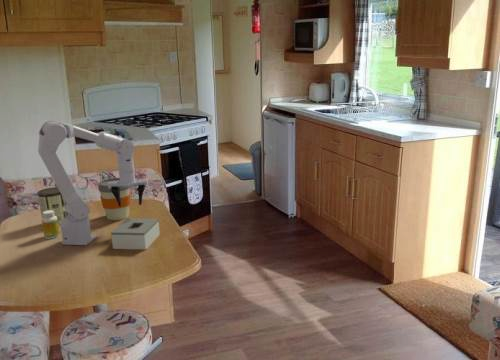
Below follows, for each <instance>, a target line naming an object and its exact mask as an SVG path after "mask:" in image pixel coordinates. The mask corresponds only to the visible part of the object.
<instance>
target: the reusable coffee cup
mask: <svg viewBox="0 0 500 360" xmlns="http://www.w3.org/2000/svg"><path fill="white" fill-rule="evenodd" d="M116 181H120V178H119V177H115V178H106V179H103V180H101V181H99V182H98V191H99V193H100V197H99V198H100V201H101V204H102V205H101V206H102V208H103V209H104V212H105V216H106V219H107V220H109V221H121V220H123V219H124V220H125V219H128V217H129V216H130V205H131V192H130V190H131V189H130V188H131V187H120V198H121V206H119V205H118V202H117V200H116V198H115V196H114V195H113V193H112V192H111V188H108V183H109V182H116Z"/></svg>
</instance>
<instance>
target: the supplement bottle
mask: <svg viewBox="0 0 500 360" xmlns="http://www.w3.org/2000/svg"><path fill="white" fill-rule="evenodd" d="M54 215H55V214H54V211H53V210H48V211H44V212H43V217H44V218H42V217H41V224H42V231H43V238H44V239H48V240H49V239H51V240H52V239H56V238H58V237H59V236H60V235H61V233H60V227H59V226H58V220H57V217H56V216H54Z"/></svg>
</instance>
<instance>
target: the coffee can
mask: <svg viewBox="0 0 500 360" xmlns="http://www.w3.org/2000/svg"><path fill="white" fill-rule="evenodd" d="M36 193H37V197H38V203H39V209H40V210H39V211H40V214H41V219H42V218H44V217H43V212H44V211H48V210H53V211H54V214H55V215H54V216H56V217H57V220H58V226H59V228H61V222H62V220H63V219H64V218H67V217H68V214H69V213H67V212H66V210H65V207H64V201H63V199H62V195H61V193H60V191H59V189H58V187H57V186H55V187H48V188H43V189H40V190H38V191H37V192H36Z"/></svg>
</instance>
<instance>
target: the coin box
mask: <svg viewBox="0 0 500 360" xmlns="http://www.w3.org/2000/svg"><path fill="white" fill-rule="evenodd" d="M159 223H160V221H159V218H126V219H124V221H123V222H121V224H120V225H118V226H117V227H115V228H114V229H113V230H112V231H111V232H110V234H111V243H112V249H113V250H115V249H116V250H147V249H148V248H149V247H150V246H151V245H152V244H153V243H154V241H156V240H157V238H158V237H159V236H160V233H161V232H160V224H159ZM135 226H137V227H139V228H138V229H132V228H133V227H135Z"/></svg>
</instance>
